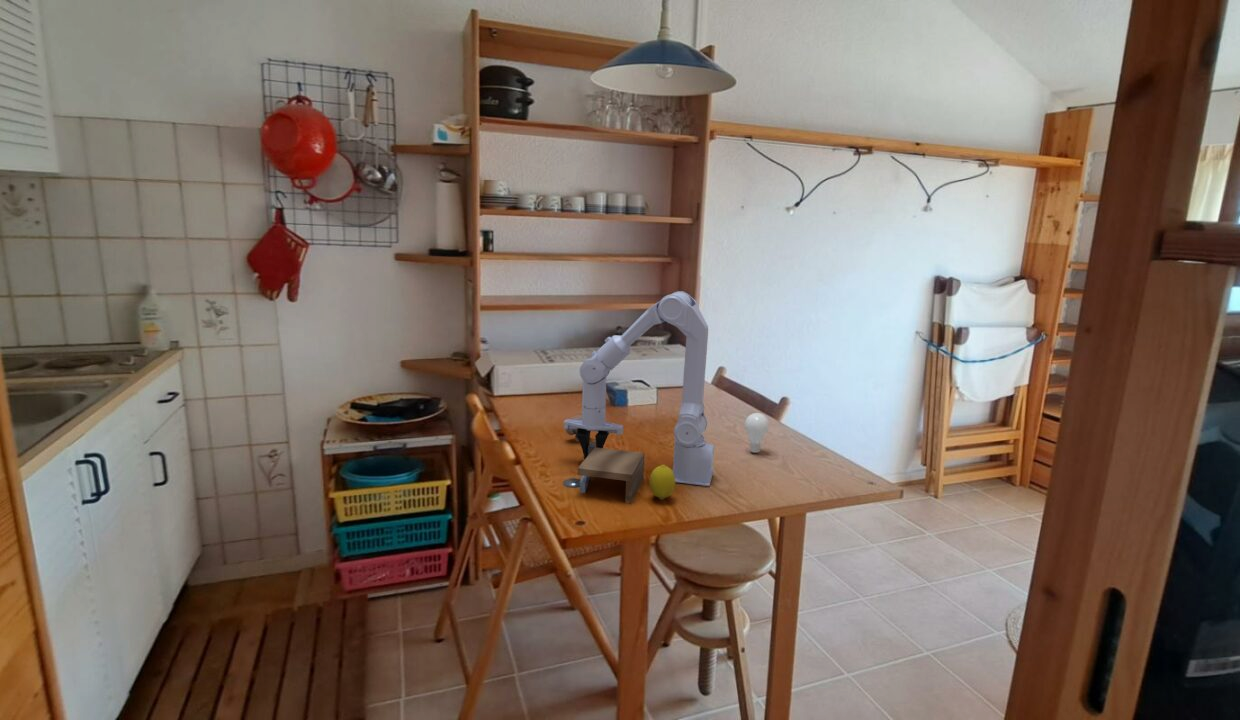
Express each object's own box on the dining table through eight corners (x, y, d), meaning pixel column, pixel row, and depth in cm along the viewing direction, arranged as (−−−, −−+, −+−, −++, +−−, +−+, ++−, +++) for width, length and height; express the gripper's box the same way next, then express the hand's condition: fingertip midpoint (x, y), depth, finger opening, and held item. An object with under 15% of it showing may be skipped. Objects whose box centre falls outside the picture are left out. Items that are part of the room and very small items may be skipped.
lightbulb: (769, 457, 168) (773, 417, 166) (746, 457, 168) (749, 416, 165) (762, 448, 174) (766, 410, 172) (739, 448, 174) (742, 409, 172)
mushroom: (563, 444, 173) (564, 415, 171) (567, 436, 179) (567, 409, 177) (591, 445, 172) (592, 417, 170) (594, 438, 178) (595, 410, 176)
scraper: (597, 460, 161) (598, 442, 160) (586, 493, 142) (587, 471, 141) (589, 460, 161) (590, 441, 160) (577, 492, 142) (578, 471, 141)
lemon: (644, 495, 141) (646, 461, 140) (667, 493, 143) (669, 459, 142) (655, 506, 136) (656, 470, 135) (678, 503, 138) (680, 468, 136)
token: (584, 482, 148) (584, 479, 148) (579, 490, 144) (580, 486, 144) (566, 480, 149) (566, 477, 149) (561, 487, 145) (561, 484, 145)
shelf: (643, 479, 151) (644, 452, 149) (630, 503, 137) (632, 474, 136) (594, 473, 153) (594, 447, 152) (577, 496, 140) (577, 468, 138)
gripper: (626, 404, 158) (624, 456, 161) (570, 399, 161) (569, 450, 164) (620, 412, 151) (618, 466, 154) (561, 406, 154) (560, 459, 157)
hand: (592, 458), depth 159 cm, fingers closed on scraper, 2 cm apart
